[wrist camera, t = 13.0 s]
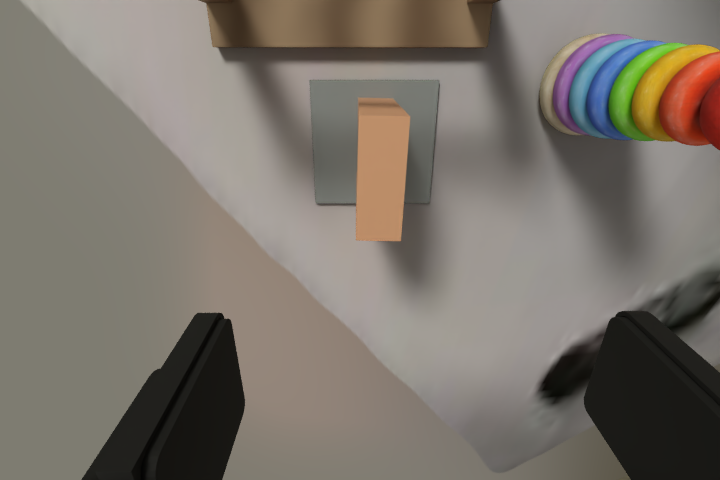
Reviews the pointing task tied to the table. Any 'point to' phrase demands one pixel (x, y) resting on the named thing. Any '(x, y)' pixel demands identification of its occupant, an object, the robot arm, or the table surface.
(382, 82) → the mat
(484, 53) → the table surface
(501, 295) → the table surface
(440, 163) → the table surface
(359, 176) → the tall peach block
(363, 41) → the rack
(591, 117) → the stacking toy
